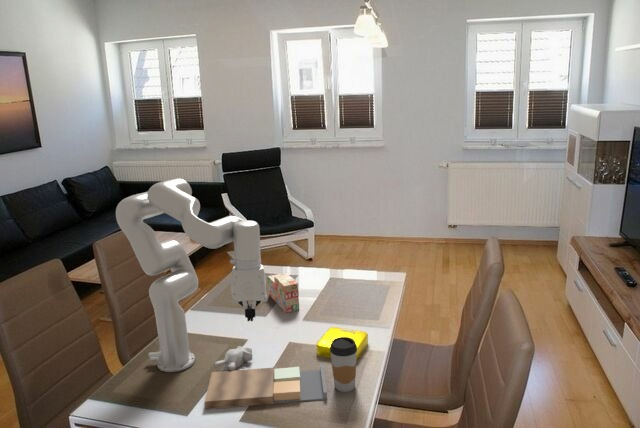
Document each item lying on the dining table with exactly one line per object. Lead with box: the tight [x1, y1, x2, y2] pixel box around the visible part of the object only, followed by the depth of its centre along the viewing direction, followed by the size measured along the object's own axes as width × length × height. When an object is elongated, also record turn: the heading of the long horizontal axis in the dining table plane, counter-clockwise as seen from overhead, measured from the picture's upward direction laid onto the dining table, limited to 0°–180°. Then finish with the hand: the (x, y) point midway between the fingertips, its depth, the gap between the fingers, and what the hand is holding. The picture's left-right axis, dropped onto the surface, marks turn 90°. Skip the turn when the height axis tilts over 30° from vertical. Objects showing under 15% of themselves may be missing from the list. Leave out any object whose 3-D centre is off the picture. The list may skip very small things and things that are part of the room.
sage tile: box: [274, 366, 301, 384], centre depth 165 cm, size 8×6×2 cm
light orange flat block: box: [273, 380, 301, 401], centre depth 157 cm, size 8×6×2 cm
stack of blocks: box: [267, 273, 300, 314], centre depth 223 cm, size 21×6×12 cm, turn 24°
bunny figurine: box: [213, 345, 253, 371], centre depth 176 cm, size 10×5×15 cm
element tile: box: [316, 326, 369, 362], centre depth 183 cm, size 15×15×5 cm
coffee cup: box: [330, 337, 357, 393], centre depth 159 cm, size 8×8×15 cm
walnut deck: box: [204, 367, 275, 410], centre depth 161 cm, size 20×16×2 cm
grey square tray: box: [272, 363, 328, 405], centre depth 162 cm, size 16×16×2 cm
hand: (250, 319), depth 157 cm, fingers closed
